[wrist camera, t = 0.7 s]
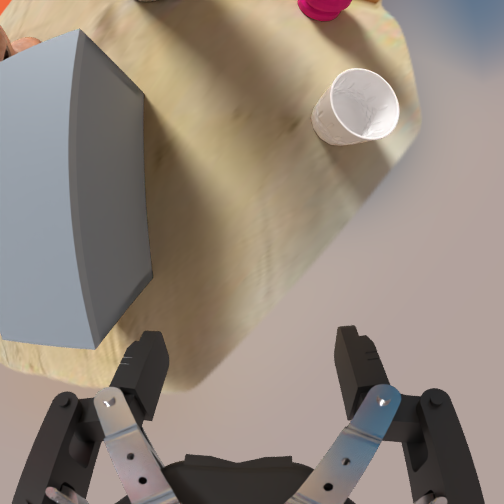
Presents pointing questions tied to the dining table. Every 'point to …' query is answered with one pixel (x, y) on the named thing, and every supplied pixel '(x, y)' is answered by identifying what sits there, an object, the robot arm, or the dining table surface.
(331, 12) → the pepper mill
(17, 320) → the grey cubby
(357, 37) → the dining table surface
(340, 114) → the white cup
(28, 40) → the ceramic jug
